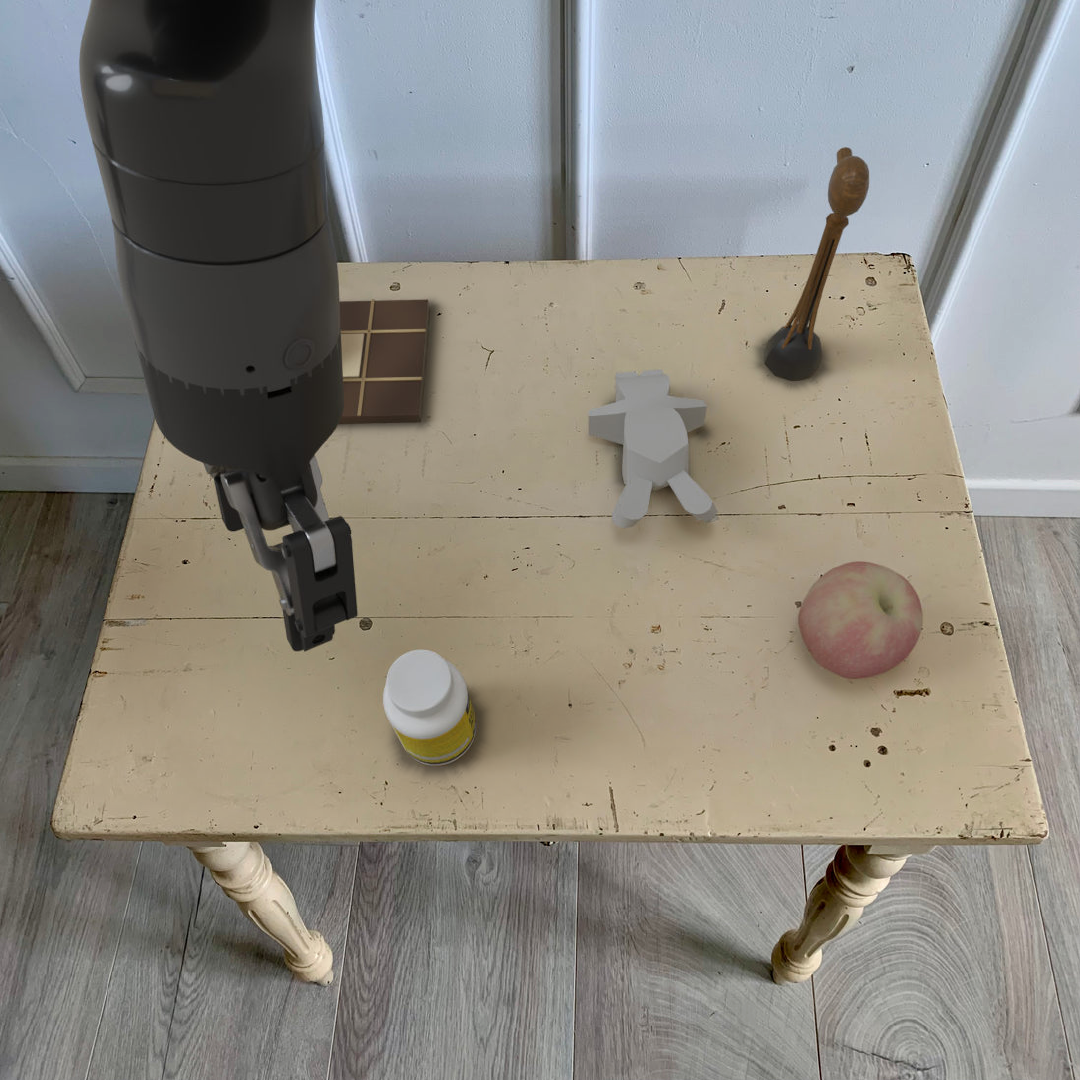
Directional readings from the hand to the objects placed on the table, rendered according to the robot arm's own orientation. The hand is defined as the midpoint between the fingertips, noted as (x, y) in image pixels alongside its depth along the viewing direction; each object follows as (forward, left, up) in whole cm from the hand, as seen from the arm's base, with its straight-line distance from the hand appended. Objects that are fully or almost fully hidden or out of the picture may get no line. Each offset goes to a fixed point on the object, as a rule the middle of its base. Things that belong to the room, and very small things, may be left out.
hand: (277, 579), depth 46 cm
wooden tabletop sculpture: (+35, +31, -20) cm, 51 cm away
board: (-5, +31, -20) cm, 37 cm away
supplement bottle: (+6, -2, -20) cm, 21 cm away
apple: (+35, +4, -20) cm, 40 cm away
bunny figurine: (+22, +20, -20) cm, 36 cm away
